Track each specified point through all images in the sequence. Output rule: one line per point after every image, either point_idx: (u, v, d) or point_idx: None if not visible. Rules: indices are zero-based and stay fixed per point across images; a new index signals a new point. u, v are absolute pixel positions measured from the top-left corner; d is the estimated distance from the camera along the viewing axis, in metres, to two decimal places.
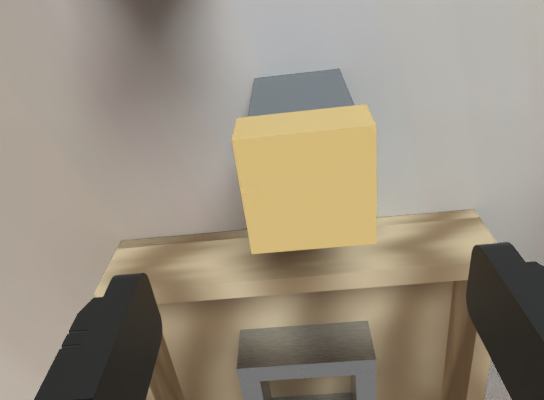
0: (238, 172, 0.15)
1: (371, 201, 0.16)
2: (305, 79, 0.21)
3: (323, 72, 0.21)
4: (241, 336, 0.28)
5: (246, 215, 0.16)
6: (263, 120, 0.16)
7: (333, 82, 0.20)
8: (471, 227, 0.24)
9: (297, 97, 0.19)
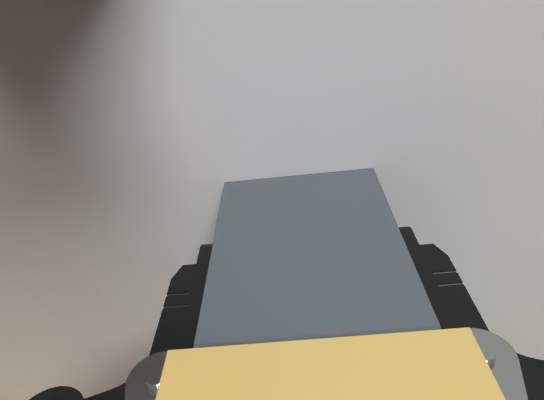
0: None
1: None
2: (315, 195, 0.11)
3: (346, 176, 0.12)
4: None
5: None
6: (227, 374, 0.07)
7: (368, 210, 0.10)
8: None
9: (303, 254, 0.09)
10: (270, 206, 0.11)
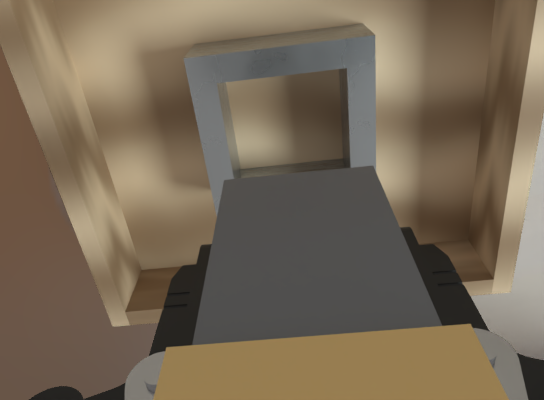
0: None
1: None
2: (315, 192, 0.11)
3: (345, 173, 0.12)
4: None
5: None
6: (226, 371, 0.07)
7: (369, 207, 0.10)
8: None
9: (303, 251, 0.09)
10: (269, 203, 0.11)
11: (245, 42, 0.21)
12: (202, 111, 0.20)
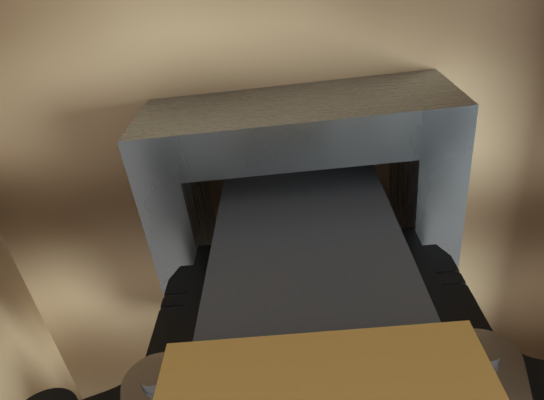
0: None
1: None
2: (315, 191, 0.11)
3: (345, 172, 0.12)
4: None
5: None
6: (226, 367, 0.07)
7: (368, 206, 0.10)
8: None
9: (303, 248, 0.09)
10: (270, 202, 0.11)
11: (234, 104, 0.12)
12: (157, 227, 0.12)
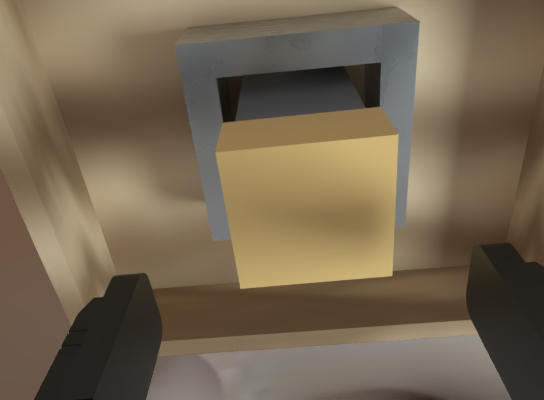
0: (224, 192, 0.12)
1: (388, 226, 0.13)
2: (303, 75, 0.17)
3: None
4: None
5: (234, 243, 0.13)
6: (255, 126, 0.13)
7: (336, 79, 0.17)
8: None
9: (295, 96, 0.15)
10: (274, 81, 0.17)
11: (252, 26, 0.16)
12: (197, 112, 0.16)
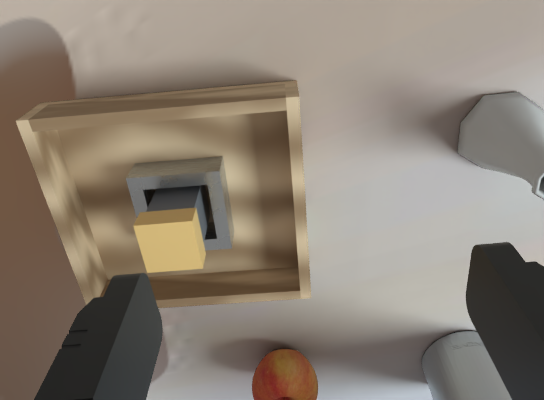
0: (137, 238, 0.36)
1: (196, 250, 0.36)
2: None
3: None
4: (222, 160, 0.41)
5: (142, 256, 0.37)
6: (150, 214, 0.36)
7: (194, 188, 0.40)
8: None
9: (173, 197, 0.39)
10: None
11: (159, 166, 0.40)
12: (136, 202, 0.40)
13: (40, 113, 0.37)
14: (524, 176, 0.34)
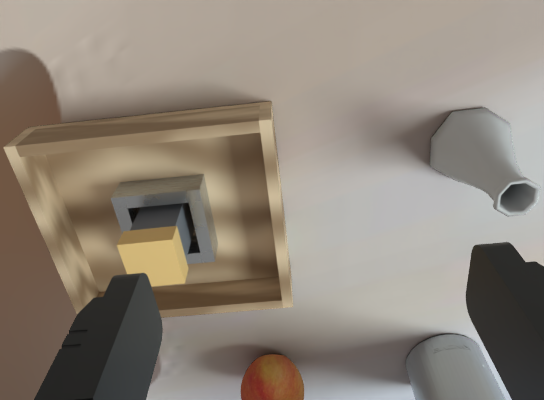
0: (121, 256, 0.38)
1: (178, 266, 0.38)
2: None
3: None
4: (203, 177, 0.42)
5: (127, 272, 0.38)
6: (133, 233, 0.38)
7: (176, 205, 0.42)
8: (291, 282, 0.48)
9: (157, 215, 0.41)
10: None
11: (143, 185, 0.42)
12: (121, 220, 0.42)
13: (27, 139, 0.38)
14: (487, 191, 0.36)
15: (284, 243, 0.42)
